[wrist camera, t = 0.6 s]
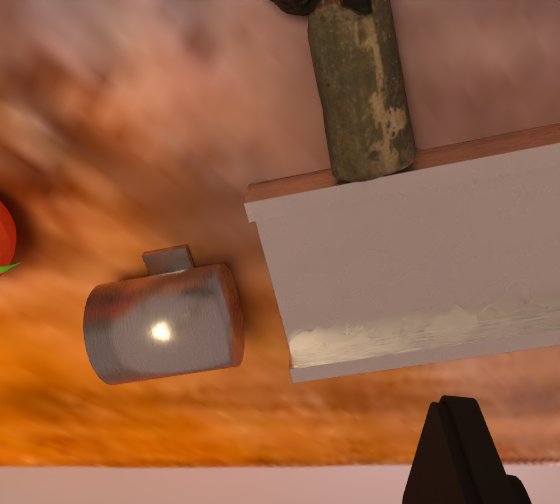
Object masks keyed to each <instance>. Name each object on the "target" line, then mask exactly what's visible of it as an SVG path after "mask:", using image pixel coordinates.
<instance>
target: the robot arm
mask: <svg viewBox="0 0 560 504" xmlns="http://www.w3.org/2000/svg"><path fill="white" fill-rule="evenodd" d="M402 504H532V503H531V501H530V498H529V496H528V494H527V491H526V489H525V487H524V485H523V484H522V482H521V480H519V479H518V478H517V477H516V476H513V475H506V473H505V470H504V467H503V465H502V462H501V460H500V457H499V455H498V452H497V450H496V447H495V445H494V442H493V440H492V437H491V435H490V432H489V430H488V427H487V425H486V422H485V420H484V417H483V415H482V412H481V410H480V407H479V405H478V403H477V401H476V400H475V399H474V398H467V397H457V396H446V395H444V396H442V397H441V399H440V401H439V403H437V402H432V403H431V404H430V407H429V410H428V413H427V417H426V420H425V424H424V427H423V430H422V434H421V437H420V440H419V444H418V447H417V451H416V454H415V457H414V461H413V464H412V467H411V471H410V475H409V478H408V481H407V484H406V488H405V491H404V495H403V500H402Z"/></svg>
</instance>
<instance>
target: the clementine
mask: <svg viewBox="0 0 560 504" xmlns="http://www.w3.org/2000/svg"><path fill="white" fill-rule="evenodd" d="M16 238H17V235H16V228H15V224H14V221H13V219H12V217H11V215H10V213H9V211H8V210H7V209H6V207H5V206H4V204H3V203H2V202H1V201H0V276H1V275H2V274H3V273H4V272H5V271H7V270H9V269H11V268H12V267H14V266H16V265H18V264H20V263H21V262H20V263H16V264H12V265H9V264H10V262H11V260H12V258H13V256H14V253H15V246H16ZM8 265H9V266H8Z"/></svg>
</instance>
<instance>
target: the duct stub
mask: <svg viewBox="0 0 560 504" xmlns="http://www.w3.org/2000/svg"><path fill="white" fill-rule="evenodd" d="M142 257H143V260H144V263H145V265H146V268H147V270H148V273H149V276H146V277H141V278H135V279H129V280H124V281H118V282H113V283H107V284H101V285H98V286H96V287H95V288H94V289H93V290H92V291H91V293H90V295H89V297H88V299H87V302H86V306H85V311H84V319H83V330H84V341H85V346H86V350H87V354H88V357H89V360H90V363H91V365H92V367H93V369H94V371H95V373H96V374H97V375H98V377H99V378H100V379H101V380H102V381H103V382H105V383H107V384H109V385H117V384H124V383H131V382H137V381H144V380H151V379H157V378H164V377H171V376H177V375H184V374H191V373H197V372H204V371H211V370H218V369H224V368H231V367H237V366H239V365H240V364H241V362H242V359H243V354H244V323H243V315H242V309H241V303H240V298H239V294H238V290H237V287H236V284H235V281H234V278H233V276H232V274H231V272H230V270H229V268H228V267H227V266H226V265H225V264H224V263H219V264H214V265H208V266H202V267H197V268H195V267H194V264H193V261H192V258H191V255H190V252H189V249H188V246H187V245H181V246H176V247H171V248H165V249H160V250H154V251H149V252H144V253H143V255H142Z"/></svg>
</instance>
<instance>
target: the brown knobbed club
mask: <svg viewBox="0 0 560 504" xmlns="http://www.w3.org/2000/svg"><path fill="white" fill-rule="evenodd" d="M270 1H272V2H274V3H275V4H276V5H277V6H278V7H279V8H280V9H281V10H283V11H284V12H285V13H287V14H293V15H301V16H305V15H309V16H308V40H309V45H310V50H311V56H312V61H313V67H314V72H315V77H316V82H317V87H318V92H319V96H320V100H321V104H322V108H323V116H324V125H325V132H326V138H327V144H328V150H329V156H330V163H331V170H332V175H333V176H334V177H335V178H336V179H339V180H343V181H348V182H365V181H370V180H374V179H377V178H379V177H382V176H384V175H388V174H392V173H394V172H396V171H399V170H401V169H404V168H405V167H407V166H408V165H410V164H411V163H412V162H413V161H414V159H415V156H416V153H417V149H416V148H415V143H414V138H413V132H412V127H411V121H410V115H409V110H408V104H407V98H406V93H405V86H404V80H403V74H402V68H401V63H400V57H399V51H398V46H397V40H396V34H395V28H394V22H393V16H392V11H391V6H390V0H270Z"/></svg>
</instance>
